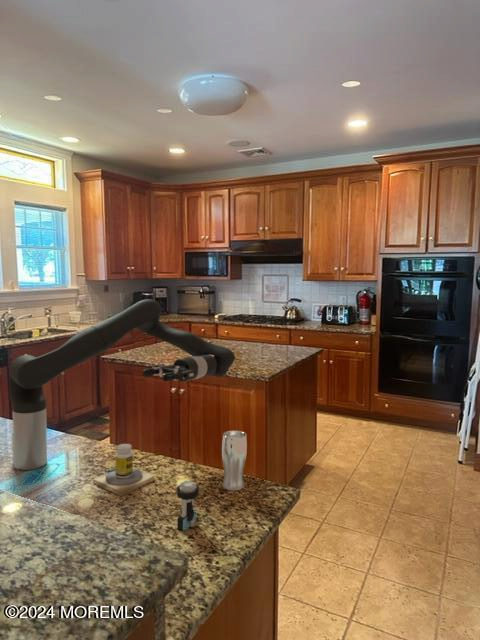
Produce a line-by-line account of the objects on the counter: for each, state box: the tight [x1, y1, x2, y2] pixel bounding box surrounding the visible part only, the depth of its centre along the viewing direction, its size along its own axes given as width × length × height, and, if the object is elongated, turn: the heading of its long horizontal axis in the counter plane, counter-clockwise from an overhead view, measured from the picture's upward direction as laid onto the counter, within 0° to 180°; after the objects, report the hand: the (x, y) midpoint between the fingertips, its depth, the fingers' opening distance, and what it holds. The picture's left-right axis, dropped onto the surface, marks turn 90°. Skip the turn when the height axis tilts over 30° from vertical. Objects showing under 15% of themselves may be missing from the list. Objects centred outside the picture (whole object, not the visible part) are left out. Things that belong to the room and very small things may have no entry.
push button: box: [176, 480, 200, 531], centre depth 104 cm, size 7×5×10 cm
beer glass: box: [221, 430, 248, 492], centre depth 123 cm, size 7×7×15 cm
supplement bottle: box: [115, 443, 134, 478], centre depth 124 cm, size 5×5×8 cm
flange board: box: [92, 467, 156, 497], centre depth 125 cm, size 12×12×2 cm
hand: (153, 375), depth 131 cm, fingers open, 8 cm apart
